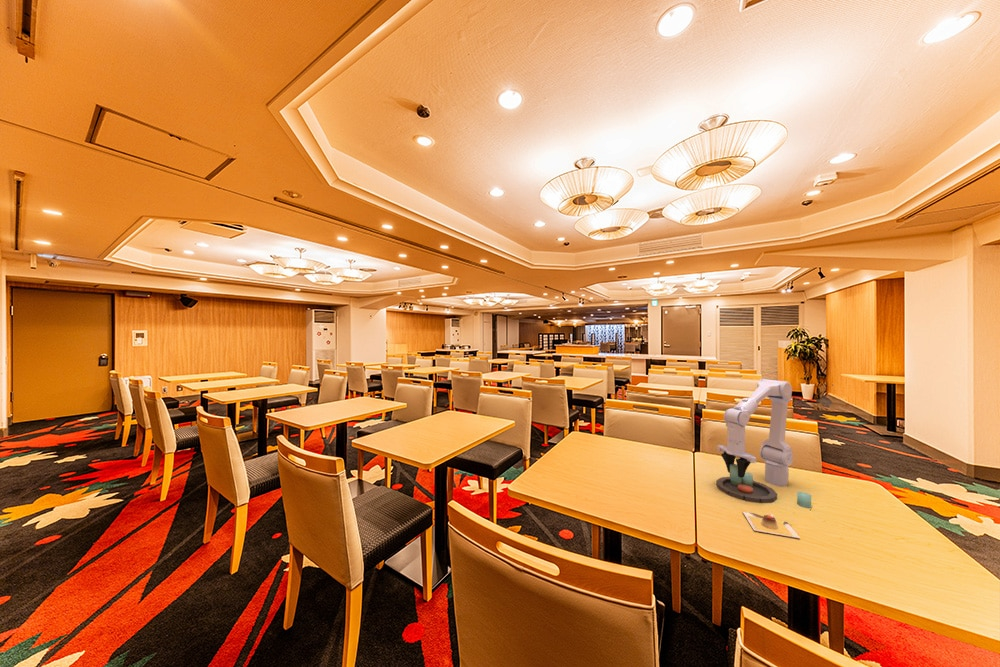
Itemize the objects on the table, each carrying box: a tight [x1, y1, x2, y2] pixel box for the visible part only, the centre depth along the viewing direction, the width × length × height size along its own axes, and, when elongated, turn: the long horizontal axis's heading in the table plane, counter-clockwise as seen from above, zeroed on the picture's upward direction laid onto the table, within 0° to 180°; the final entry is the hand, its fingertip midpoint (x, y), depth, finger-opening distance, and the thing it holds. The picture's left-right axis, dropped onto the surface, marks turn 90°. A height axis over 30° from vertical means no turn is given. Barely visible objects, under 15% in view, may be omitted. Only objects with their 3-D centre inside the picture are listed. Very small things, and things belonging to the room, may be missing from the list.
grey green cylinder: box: [729, 463, 742, 481], centre depth 134 cm, size 4×4×5 cm
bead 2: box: [731, 479, 742, 487], centre depth 141 cm, size 4×4×5 cm
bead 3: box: [796, 491, 812, 512], centre depth 125 cm, size 4×4×5 cm
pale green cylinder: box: [742, 472, 754, 488], centre depth 140 cm, size 4×4×5 cm
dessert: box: [742, 511, 801, 539], centre depth 113 cm, size 12×12×5 cm
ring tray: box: [715, 476, 778, 504], centre depth 136 cm, size 19×19×2 cm
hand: (735, 474), depth 134 cm, fingers closed on grey green cylinder, 4 cm apart
